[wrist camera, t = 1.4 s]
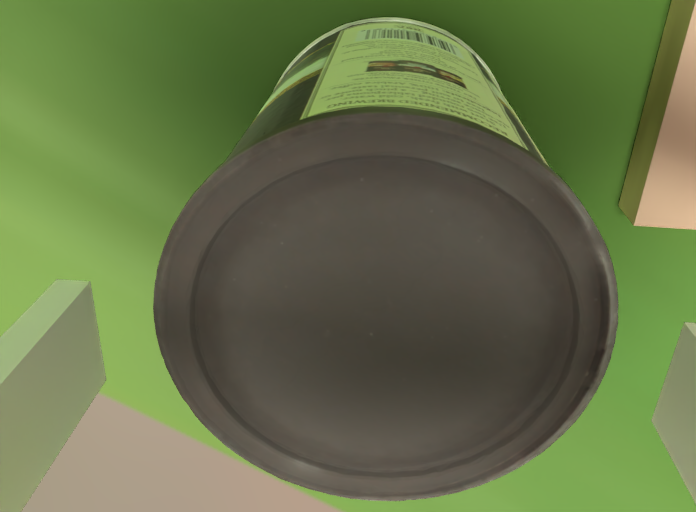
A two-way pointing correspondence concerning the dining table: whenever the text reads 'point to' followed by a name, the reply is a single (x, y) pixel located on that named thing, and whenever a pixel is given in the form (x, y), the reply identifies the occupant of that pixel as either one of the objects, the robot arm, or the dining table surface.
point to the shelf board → (667, 132)
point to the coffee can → (386, 277)
